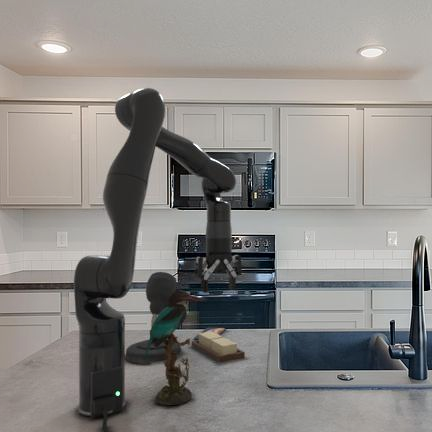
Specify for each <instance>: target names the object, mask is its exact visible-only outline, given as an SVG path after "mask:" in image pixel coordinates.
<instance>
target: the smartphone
mask: <svg viewBox="0 0 432 432" xmlns="http://www.w3.org/2000/svg"><path fill="white" fill-rule="evenodd" d="M211 331H212V332H214V333H216V334H218V335H220V336H222V335H223V334H224V333H225V332H227V329H226V328H224V327H206V328H204V329H203V330H202V331H201V332H200V333H205V332H211ZM196 340H199V333H198V334H197V335H196V336H195V337H194V338H193V341H196Z"/></svg>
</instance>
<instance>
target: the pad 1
mask: <svg viewBox="0 0 432 432" xmlns="http://www.w3.org/2000/svg"><path fill="white" fill-rule="evenodd" d="M198 334H199V344H200V345H202V346H204V347H206V348H207V349H209V350H211V340H213V339H219V338H224V337H223V336H222V335H218V334H216V333H214V332H212V331H211V332H205V333H201V332H199V333H198Z"/></svg>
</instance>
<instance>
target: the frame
mask: <svg viewBox="0 0 432 432" xmlns="http://www.w3.org/2000/svg"><path fill="white" fill-rule="evenodd" d="M191 347H192V348H194V349H195V350H198V351H199V352H200V353H202V354H204V355H206V356H207V357H208V358H211V359H213V360H214V361H216V362H218V363H224V362H229V361H234V360H238V359H239V360H240V359H243V358H245V353H246V352H245V351H243V350H241V349H239V348H237V353H233V354H228V355H223V356H220V355H218V354H216V353H215V352H213V351H211V350H209V349H207V348H206V347H204V346H202V345H200V344H199V340H191Z"/></svg>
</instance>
